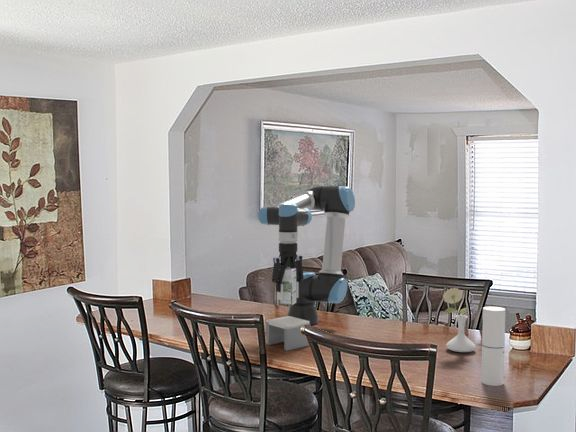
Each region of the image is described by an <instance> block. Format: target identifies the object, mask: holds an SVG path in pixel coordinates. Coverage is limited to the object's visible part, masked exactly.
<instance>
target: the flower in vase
mask: <svg viewBox="0 0 576 432" xmlns="http://www.w3.org/2000/svg"><path fill="white" fill-rule="evenodd" d="M463 295H464V294H463V292H462V289H459V288H458V287H456V288H455V287H453V288H452V287H450V288H449V289H446V291H445V292H444V294H443V295H442V299H443V300H444V302H445V303H448V304H453V305H454V307H448V308H446V309H445V310H444V313H445V312H446V313H450V314H451V313H452V314H453V313H454V312H457V314H456V315H455V316H454V317H455V318H456V321H457V325H458V326H457V327H458V330H457V335H456V336H454V337H453V338H452V339H450V340H449V341H448V342H447V343H446V345H445V346H446V349H448V350H449V351H452V352H456V353H457V352H458V353H471V352H473V351H475V350H476V349H477V347H476V344H475V343H474V342H473V341H472V340H470V339H469V338H468V336H466V334H465V326H466V325H465V324H466V321H467V320H468V318H469V316H468V315H463V313H466V312H467V310H468V308H469V307H468V306H466V307H464V308H462V309H460V310H459V311H458V309H457V306H456V304H457V303H458V302H460V301H461V300H462V298H464V296H463Z"/></svg>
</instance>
